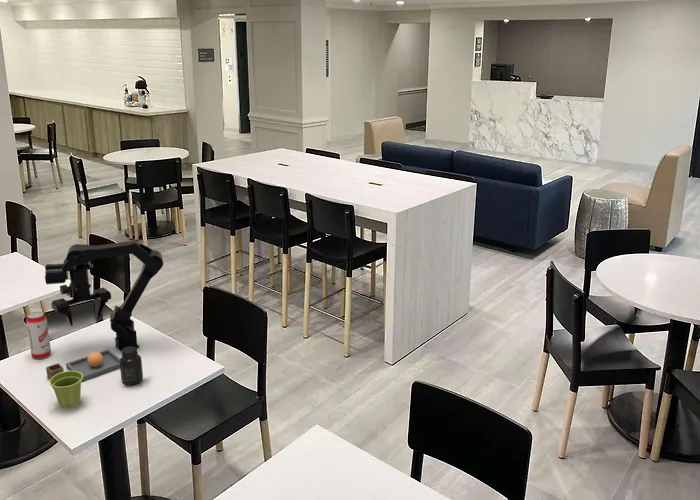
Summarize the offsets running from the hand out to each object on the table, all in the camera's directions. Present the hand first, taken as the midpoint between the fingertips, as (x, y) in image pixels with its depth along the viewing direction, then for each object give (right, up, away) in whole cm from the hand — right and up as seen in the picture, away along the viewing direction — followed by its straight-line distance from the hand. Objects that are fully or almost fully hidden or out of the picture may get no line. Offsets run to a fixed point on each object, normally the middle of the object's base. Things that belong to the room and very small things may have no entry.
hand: (84, 321), depth 213 cm
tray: (+6, -15, -5) cm, 17 cm away
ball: (+6, -12, -6) cm, 15 cm away
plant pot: (+6, -22, -25) cm, 34 cm away
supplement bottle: (+21, -19, -12) cm, 31 cm away
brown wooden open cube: (-4, -17, -13) cm, 22 cm away
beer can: (-15, -12, 0) cm, 20 cm away
